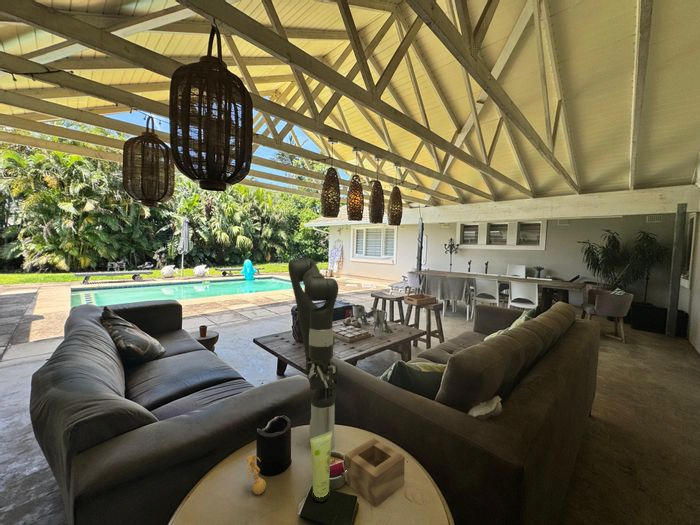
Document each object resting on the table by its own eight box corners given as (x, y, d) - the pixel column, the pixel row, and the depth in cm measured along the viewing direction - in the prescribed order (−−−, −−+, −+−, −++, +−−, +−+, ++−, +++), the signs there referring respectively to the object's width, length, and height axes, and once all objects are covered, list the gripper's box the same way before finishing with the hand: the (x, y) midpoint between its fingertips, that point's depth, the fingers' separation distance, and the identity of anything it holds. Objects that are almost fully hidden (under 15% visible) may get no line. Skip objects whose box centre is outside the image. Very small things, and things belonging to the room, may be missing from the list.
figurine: (260, 503, 89) (261, 463, 89) (241, 502, 90) (241, 462, 90) (269, 483, 98) (270, 446, 98) (251, 482, 98) (252, 445, 98)
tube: (324, 506, 88) (325, 441, 88) (309, 502, 90) (309, 438, 90) (331, 492, 94) (332, 431, 94) (316, 489, 95) (317, 428, 95)
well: (344, 481, 99) (344, 454, 99) (373, 462, 108) (373, 438, 108) (375, 507, 88) (375, 477, 88) (404, 484, 98) (404, 456, 98)
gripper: (298, 339, 95) (298, 390, 95) (324, 349, 85) (324, 406, 84) (318, 336, 100) (318, 384, 100) (344, 345, 89) (344, 398, 89)
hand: (320, 394), depth 92 cm, fingers open, 8 cm apart
